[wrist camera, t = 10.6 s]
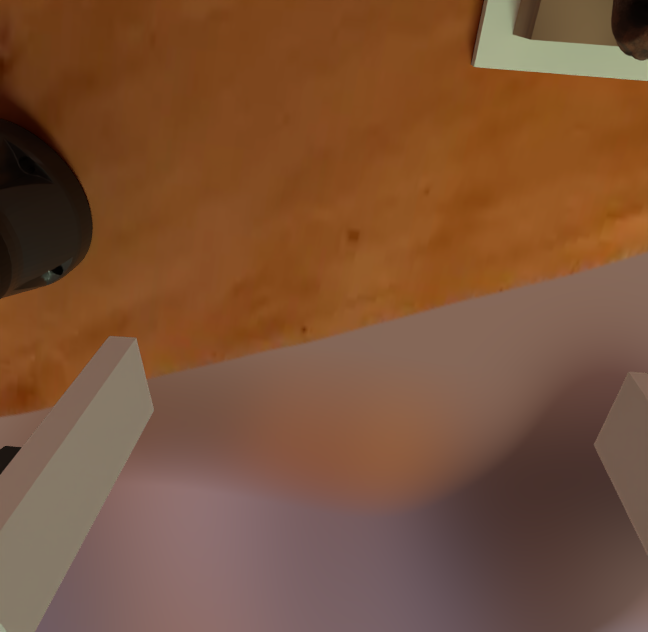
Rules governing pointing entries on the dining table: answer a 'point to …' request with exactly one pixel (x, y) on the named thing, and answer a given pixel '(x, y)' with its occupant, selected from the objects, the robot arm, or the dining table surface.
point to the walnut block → (566, 21)
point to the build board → (545, 50)
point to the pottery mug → (631, 27)
